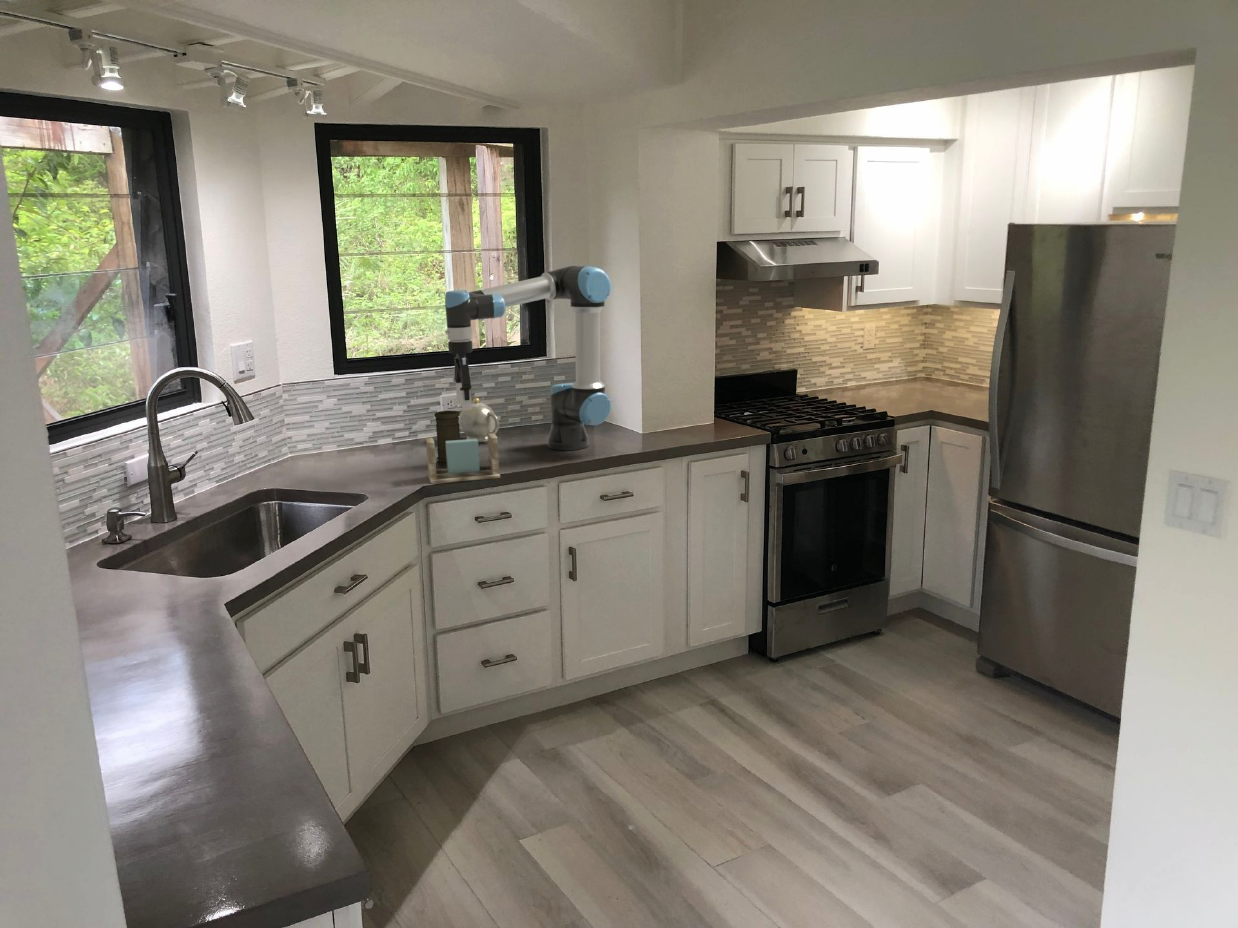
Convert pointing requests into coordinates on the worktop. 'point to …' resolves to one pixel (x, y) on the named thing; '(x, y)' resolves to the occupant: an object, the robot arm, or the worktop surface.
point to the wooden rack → (484, 472)
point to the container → (446, 432)
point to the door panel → (462, 456)
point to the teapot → (478, 421)
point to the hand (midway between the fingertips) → (464, 406)
